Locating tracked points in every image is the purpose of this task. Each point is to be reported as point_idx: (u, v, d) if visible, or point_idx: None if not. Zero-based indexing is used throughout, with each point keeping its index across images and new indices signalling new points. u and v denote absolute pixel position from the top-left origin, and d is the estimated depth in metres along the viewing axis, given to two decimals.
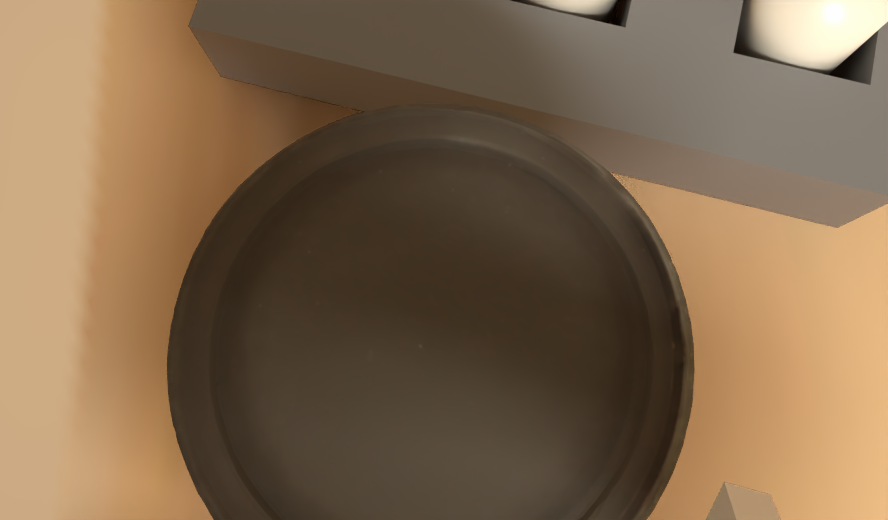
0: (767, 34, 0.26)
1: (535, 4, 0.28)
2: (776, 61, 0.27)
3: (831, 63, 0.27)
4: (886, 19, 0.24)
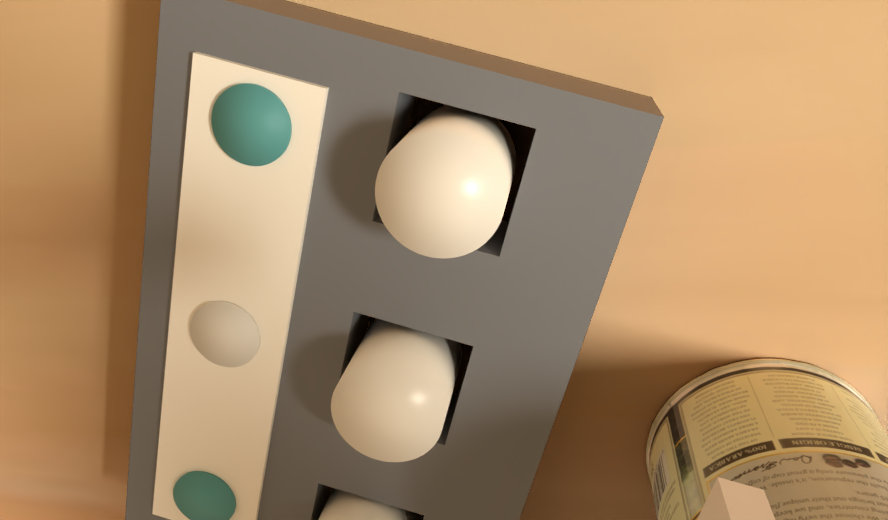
0: None
1: None
2: None
3: (509, 161, 0.26)
4: (497, 167, 0.23)
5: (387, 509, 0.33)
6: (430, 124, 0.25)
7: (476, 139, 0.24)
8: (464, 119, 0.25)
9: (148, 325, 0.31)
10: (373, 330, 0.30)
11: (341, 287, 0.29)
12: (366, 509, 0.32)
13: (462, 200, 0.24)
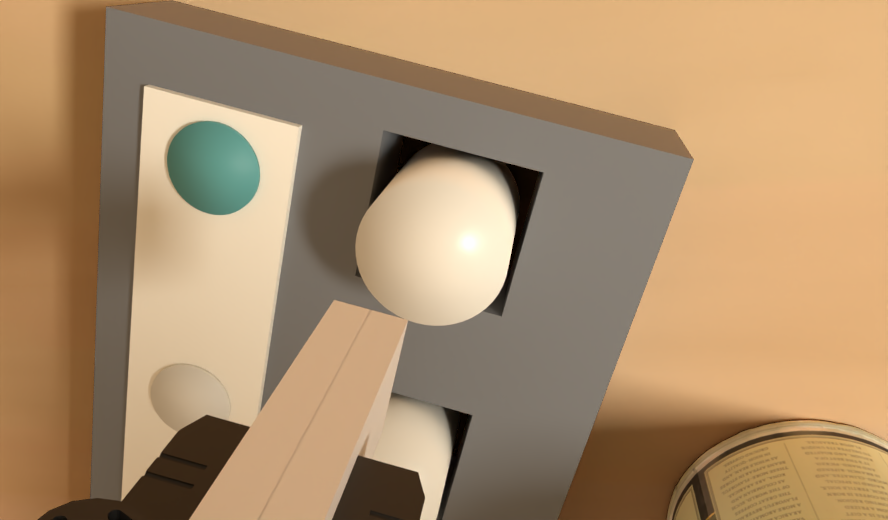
0: None
1: None
2: None
3: (512, 208, 0.22)
4: (498, 222, 0.20)
5: None
6: (420, 169, 0.21)
7: (474, 189, 0.20)
8: (459, 162, 0.22)
9: (105, 389, 0.27)
10: None
11: None
12: None
13: (458, 260, 0.20)
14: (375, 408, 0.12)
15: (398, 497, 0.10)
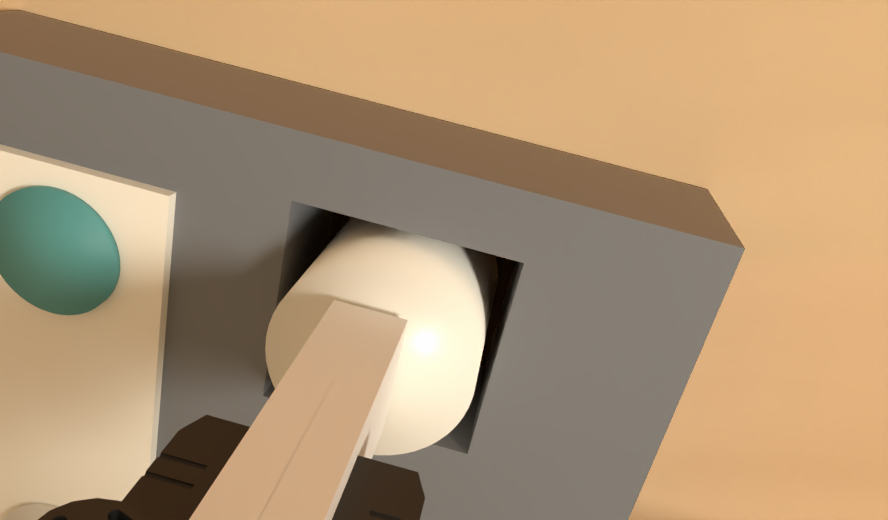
0: None
1: None
2: None
3: (485, 289, 0.17)
4: (461, 324, 0.14)
5: None
6: (355, 243, 0.15)
7: (427, 275, 0.14)
8: None
9: None
10: None
11: None
12: None
13: (407, 371, 0.15)
14: (375, 408, 0.12)
15: (398, 497, 0.11)
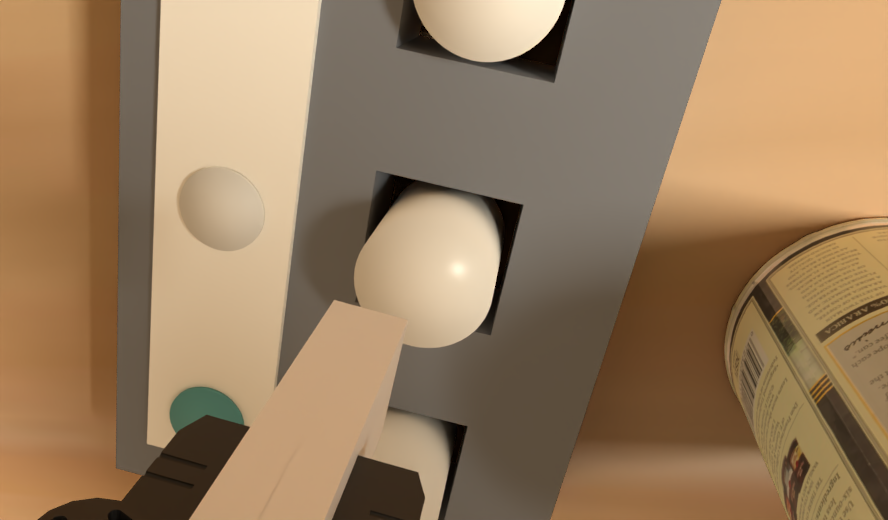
0: None
1: None
2: None
3: None
4: None
5: (423, 422, 0.28)
6: None
7: None
8: None
9: (130, 207, 0.26)
10: (400, 198, 0.25)
11: (360, 140, 0.24)
12: (398, 421, 0.27)
13: None
14: (375, 408, 0.12)
15: (398, 497, 0.10)
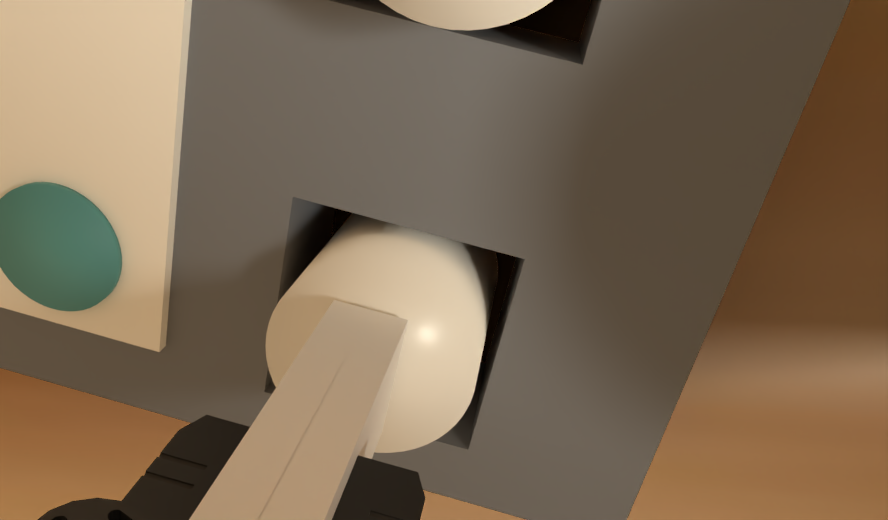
0: None
1: None
2: None
3: None
4: None
5: None
6: None
7: None
8: None
9: None
10: None
11: None
12: (408, 229, 0.16)
13: None
14: (375, 408, 0.12)
15: (398, 497, 0.10)
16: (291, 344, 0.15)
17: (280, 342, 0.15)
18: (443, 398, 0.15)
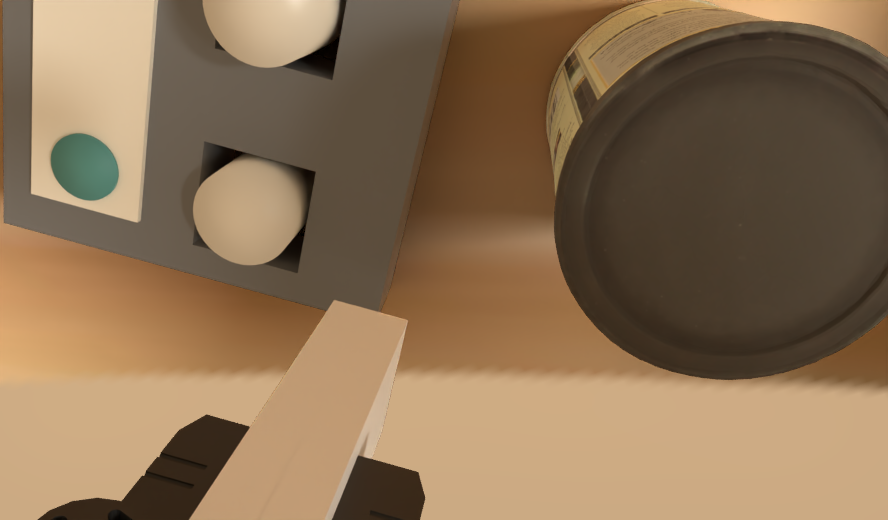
0: None
1: (331, 36, 0.30)
2: None
3: None
4: None
5: None
6: None
7: None
8: None
9: None
10: None
11: None
12: None
13: None
14: (375, 408, 0.12)
15: (398, 497, 0.11)
16: (205, 209, 0.31)
17: (200, 208, 0.31)
18: (278, 235, 0.31)
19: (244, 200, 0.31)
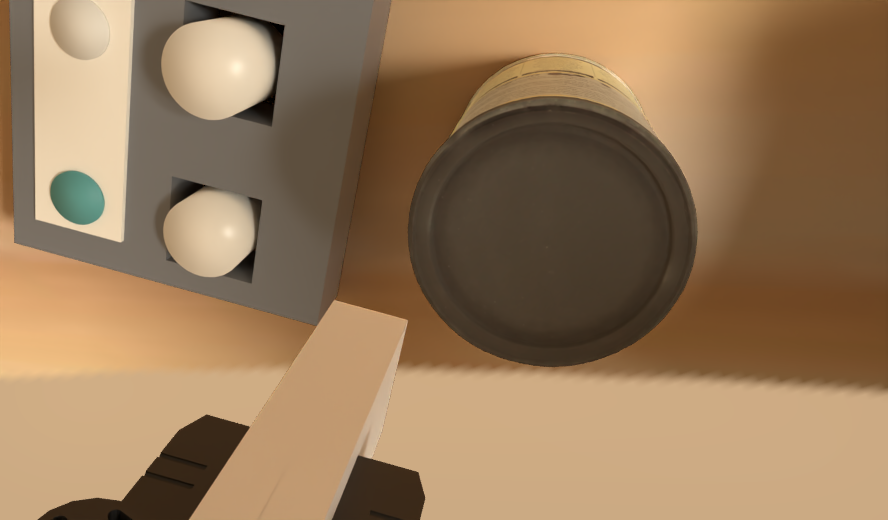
0: None
1: (271, 91, 0.36)
2: None
3: None
4: None
5: None
6: None
7: None
8: None
9: (18, 29, 0.36)
10: None
11: None
12: None
13: None
14: (375, 408, 0.12)
15: (398, 497, 0.10)
16: (172, 231, 0.38)
17: (168, 231, 0.38)
18: (231, 252, 0.38)
19: (203, 224, 0.38)
